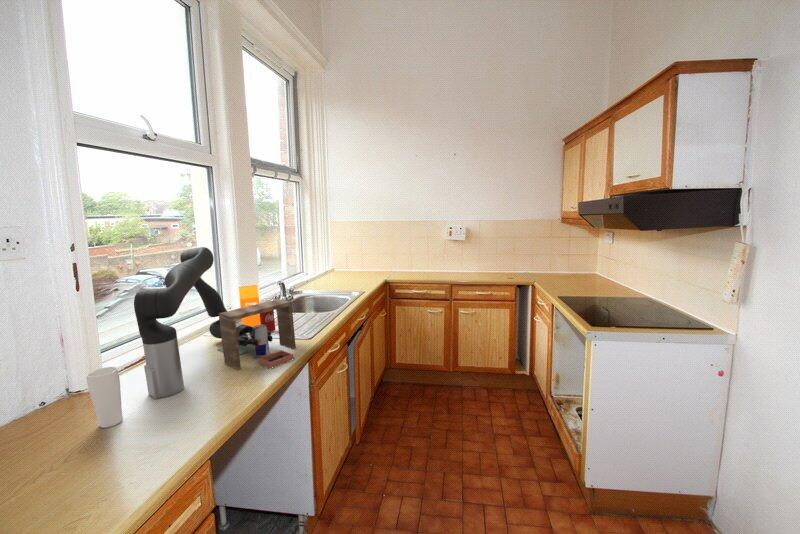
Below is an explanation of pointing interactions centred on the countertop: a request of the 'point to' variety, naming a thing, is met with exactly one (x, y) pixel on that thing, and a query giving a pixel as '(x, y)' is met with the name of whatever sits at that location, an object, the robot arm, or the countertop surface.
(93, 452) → the countertop surface
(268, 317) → the beverage can
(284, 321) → the tunnel
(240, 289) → the orange juice
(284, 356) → the pink tray
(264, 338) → the energy drink
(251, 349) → the mat
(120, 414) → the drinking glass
